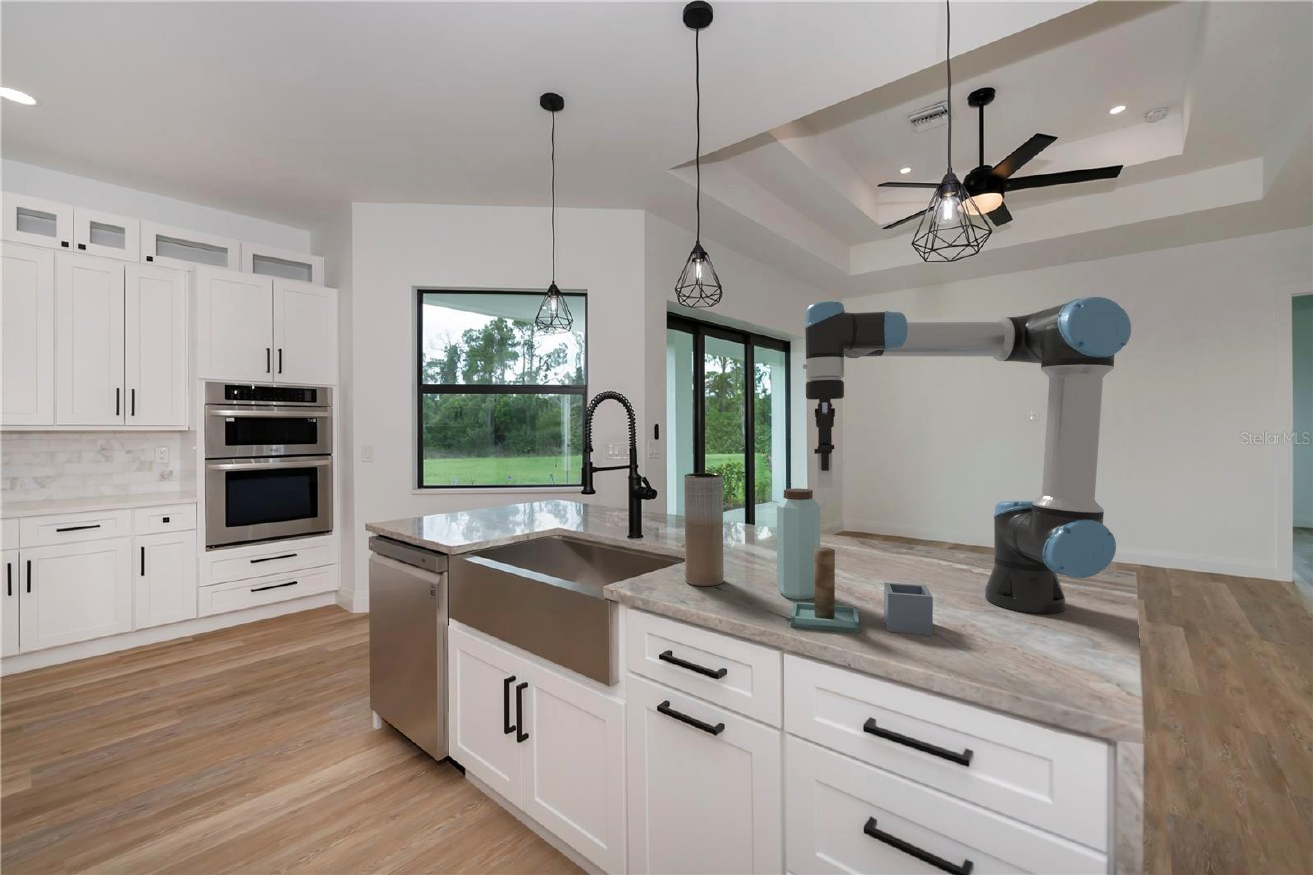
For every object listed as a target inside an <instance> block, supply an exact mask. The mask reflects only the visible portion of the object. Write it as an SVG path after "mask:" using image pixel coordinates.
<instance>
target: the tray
mask: <svg viewBox="0 0 1313 875" xmlns="http://www.w3.org/2000/svg"><path fill="white" fill-rule="evenodd" d="M859 620H860V619H859V614H858V608H857V606H849V605H838V604H835V618H834V619H820V618H816V617H815V604H814V603H812V602H802V601H801V602H800V601H799V602H798V601H793V605H792V609H791V615H790V627H791V628H796V629H807V630H818V631H821V630H822V631H829V632H830V631H831V632H841V633H850V634H860V621H859Z"/></svg>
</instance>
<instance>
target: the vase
mask: <svg viewBox="0 0 1313 875" xmlns="http://www.w3.org/2000/svg"><path fill="white" fill-rule="evenodd" d="M683 478H684V480H683V482H684V483H683V484H684V562H685V564H684V565H685V567H684V570H685V572H684V573H685V574H684V575H685V582H686V583H687V584H689V585H692V586H697V587H714V586H718V585H721V584H723V583H724V572H725V571H724V565H725V564H724V475H723V474H721V473H716V472H715V473H714V472H695V473H693V472H692V473H687V474H684V477H683Z"/></svg>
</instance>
